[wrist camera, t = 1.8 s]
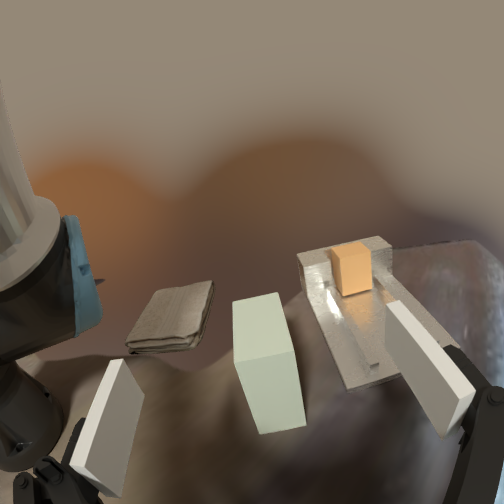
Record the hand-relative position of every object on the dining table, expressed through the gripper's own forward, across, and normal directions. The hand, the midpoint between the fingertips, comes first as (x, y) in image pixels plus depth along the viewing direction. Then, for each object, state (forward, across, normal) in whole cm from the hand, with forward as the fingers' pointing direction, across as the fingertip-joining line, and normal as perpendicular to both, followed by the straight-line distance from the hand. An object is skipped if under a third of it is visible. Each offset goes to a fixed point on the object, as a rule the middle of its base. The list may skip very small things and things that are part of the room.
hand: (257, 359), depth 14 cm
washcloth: (+31, -14, -16) cm, 37 cm away
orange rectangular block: (+27, +14, -14) cm, 34 cm away
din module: (+11, 0, -15) cm, 19 cm away
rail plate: (+21, +14, -15) cm, 29 cm away
